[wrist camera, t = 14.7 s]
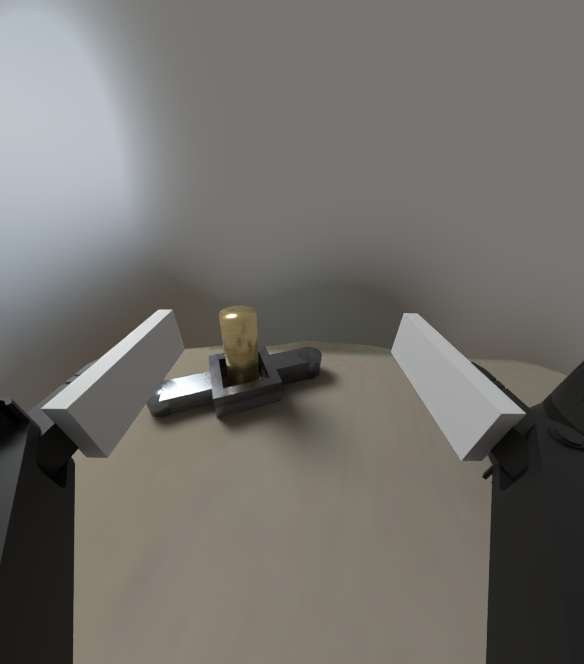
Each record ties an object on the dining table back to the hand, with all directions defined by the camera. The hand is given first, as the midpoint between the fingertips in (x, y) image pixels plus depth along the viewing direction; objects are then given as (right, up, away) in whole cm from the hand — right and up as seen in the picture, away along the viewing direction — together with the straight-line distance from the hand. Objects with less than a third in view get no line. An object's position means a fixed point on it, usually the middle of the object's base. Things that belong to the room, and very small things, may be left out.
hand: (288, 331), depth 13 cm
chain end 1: (-12, -10, +23) cm, 28 cm away
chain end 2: (-4, -9, +26) cm, 27 cm away
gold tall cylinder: (-8, -9, +24) cm, 27 cm away
